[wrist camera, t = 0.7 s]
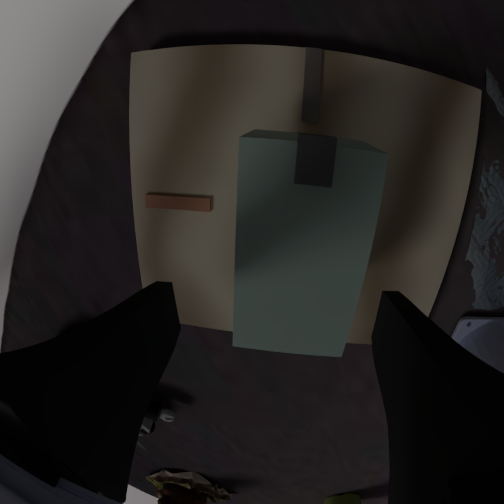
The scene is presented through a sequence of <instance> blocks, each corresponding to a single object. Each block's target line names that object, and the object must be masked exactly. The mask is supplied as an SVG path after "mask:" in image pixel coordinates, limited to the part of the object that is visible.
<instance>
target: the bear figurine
mask: <svg viewBox="0 0 504 504" xmlns="http://www.w3.org/2000/svg"><path fill="white" fill-rule="evenodd" d="M146 479H147V480H149V481H150V482H152V483H153V484H154V485H155V486H156V487H157V488H158V489H159V490H161V491H158V492H157V496H159V498H161V499H159V500H158V504H206V503H207V500H211V501H212V502H215V503H217V502H216V501H215V500H217V501H229V500H231V499H230V497H231V496H232V494H229V493H228V492H227V491H226V489H225V488H223V487H222V486H221V487H222V488H223V489H218V488H217V484H216V485H215V486H213V485H212V483H210V482H209V481H207V480H206V479H205V478H203V477H202V476H201V475H200V474H198V473H195V472H183V473H173V474H172V473H170V472H168V471H167V470H165V469H164V470H163V469H162V470H161V471H160V473H155V474H153V475H151V476H148V477H146Z"/></svg>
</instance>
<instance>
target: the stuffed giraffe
mask: <svg viewBox="0 0 504 504" xmlns="http://www.w3.org/2000/svg"><path fill="white" fill-rule="evenodd" d="M485 67H486V77H487V78H486V90H487V93H488V94H489V95H490V97H491V98H492V99H493V100H494V102H495V104H496V108H497V109H498V111H499V113H500V114H501V115H503V116H504V98H503V96H502V92H501V91H500V88H499V82H498V81H497V80H495V79H494V76H493V75H492V74H491V72H490V70H489V68H488V67H487V66H486V65H485ZM495 162H496V163H497V164H499V160H496V161H493V164H494V163H495ZM496 169H497V170H498V169H499V165H498V166H496ZM482 170H483V172H482V176H481V185H480V191H481V192H482V193H483V197H484V199H485V202H483V201H482V198H481V197H480V192H479V197H480V198H481V203H482V205H483V207H484V208H485V209H486V210H487V213H486V218H485V219H484V220H483V219H480V214H479V213H478V214H475V223H474V227H473V231H472V235H471V240H470V245H469V249H468V252H467V256H466V259H465V261H466V260H470V261H471V262H472V263H473V265H474V268H473V270H472V274H471V276H472V277H473V279H474V287H473V289H476V296H475V297H476V300H475V302H474V303H473V304H472V306H474V309H486V310H491V309H497V308H502V307H504V276H503V277H502V278H501V279H500V281H498V280H499V278H500V277H498V276H495V275H494V274H495V271H496V267H495V262H496V259H495V258H494V259H493V260H491V259H490V248H489V247H488V242H489V241H484V240H488V239H489V238H490V236H491V235H492V234H493V232H494V230H495V227H496V226H498V224H499V223H500V222H501V221H502V220H503V219H504V214H503V211H504V180H503V179H502V178H501V177H500V176H499V174H498V173H497V172H496V170H495V169H494V168H493V166H492V165H491V167H490V172H485V171H484V170H485V159H484V160H483V167H482ZM500 172H501V171H500ZM500 172H499V173H500ZM486 177H488V178H489V182H490V183H491V184H492V185H491V187H489V183H488V181H487V179H486ZM497 180H498V181H499V182H498V181H497ZM482 181H483V182H482ZM483 183H484V184H483ZM485 187H488V188H487V191H488V194H489V196H490V197H488V196H487V195H486V192H485ZM501 198H502V199H501ZM478 208H479V206H477V209H478ZM477 209H476V210H477ZM501 213H502V215H501ZM495 220H496V223H495V225H494V226H493V227H492V228H491V226H492V224H493V222H494V221H495ZM487 221H488V223H487V224H486V222H487ZM503 229H504V223H503V226H500V227H499V229H498V234H500V233H501V231H502V230H503ZM503 236H504V235H503ZM493 239H496V240H495V241H496V245H497V246H498V245H499V239H498V238H496V237H495V236H494V237H493ZM480 241H481V242H480ZM482 245H485V246H486V248H485V250H484V251H483V250H482ZM494 249H496V246H495V247H494ZM499 250H500V251H501V246H500V247H499ZM497 252H498V251H495V253H496V254H497ZM502 274H504V272H503V273H501V275H502ZM495 278H496V280H494V279H495ZM499 286H503V289H502V290H500V289H499V290H498V289H497V288H498V287H499ZM497 296H498V299H497V303H495V299H496V297H497ZM501 303H502V305H501Z"/></svg>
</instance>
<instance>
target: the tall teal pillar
mask: <svg viewBox="0 0 504 504" xmlns="http://www.w3.org/2000/svg"><path fill="white" fill-rule="evenodd" d="M388 155H389V154H387V153H386V152H384V151H382V150H380V149H378V148H376V147H374V146H372V145H370V144H368V143H366V142H364V141H359V140H352V139H345V138H338V137H334V136H326V135H318V134H309V133H299V132H298V133H296V132H285V131H273V130H259V129H254V130H252V131H250V132H248V133H246V134H244V135H242V136H240V137H239V155H238V180H237V206H236V235H235V269H234V308H233V346H236V347H243V348H251V349H259V350H267V351H276V352H286V353H296V354H307V355H319V356H333V357H341V356H342V353H343V350H344V347H345V344H346V341H347V338H348V334H349V331H350V328H351V325H352V321H353V318H354V314H355V311H356V307H357V304H358V300H359V296H360V293H361V289H362V285H363V281H364V277H365V273H366V269H367V265H368V261H369V257H370V253H371V248H372V244H373V239H374V235H375V230H376V225H377V220H378V215H379V210H380V205H381V199H382V193H383V188H384V182H385V176H386V169H387V162H388Z"/></svg>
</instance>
